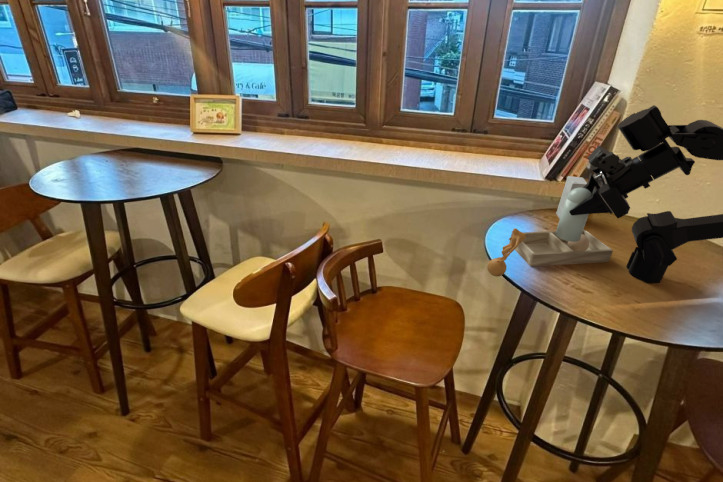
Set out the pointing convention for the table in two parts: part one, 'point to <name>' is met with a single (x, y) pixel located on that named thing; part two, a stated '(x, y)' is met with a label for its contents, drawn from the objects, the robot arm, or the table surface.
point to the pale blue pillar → (572, 216)
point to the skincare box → (569, 185)
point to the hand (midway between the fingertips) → (569, 208)
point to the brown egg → (579, 244)
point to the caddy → (559, 250)
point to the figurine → (505, 254)
